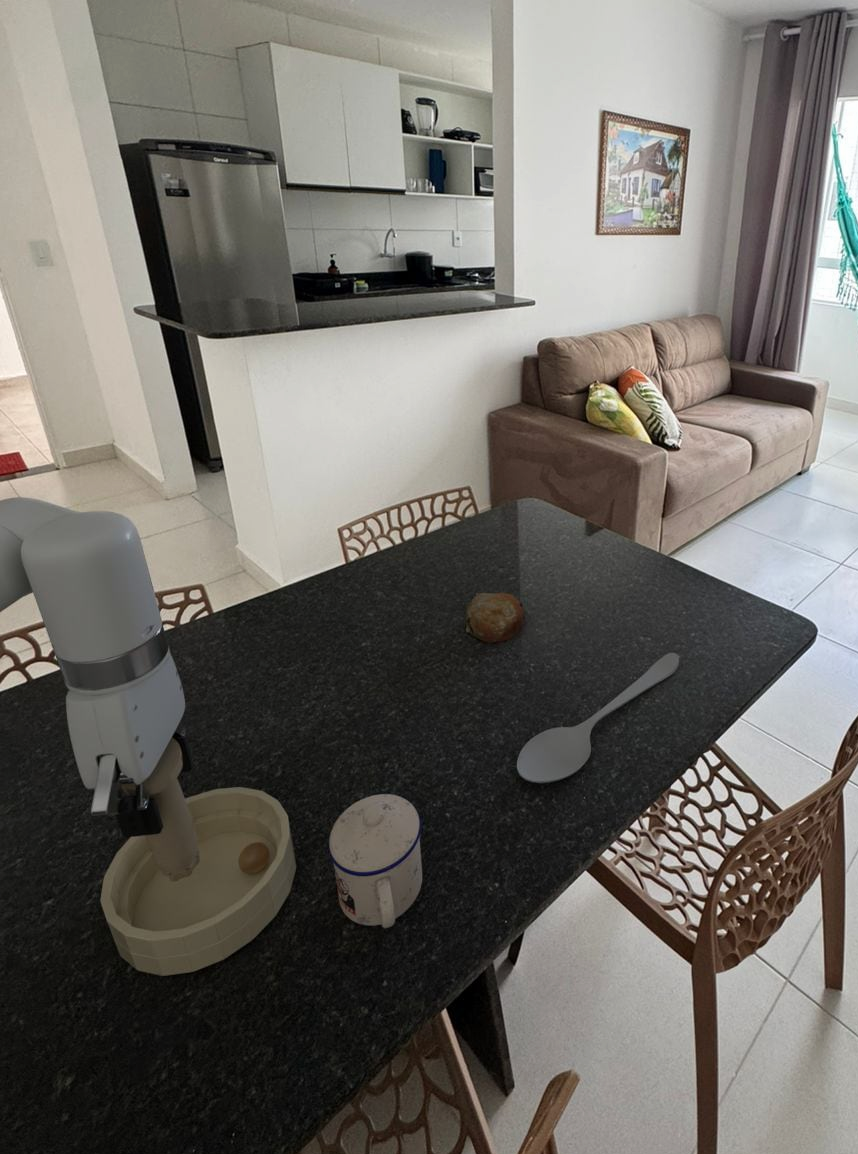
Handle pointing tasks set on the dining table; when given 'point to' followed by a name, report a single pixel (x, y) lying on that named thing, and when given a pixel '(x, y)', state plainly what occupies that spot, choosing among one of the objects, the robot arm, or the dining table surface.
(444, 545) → the dining table surface
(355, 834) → the teacup with lid
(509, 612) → the bread roll
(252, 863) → the egg
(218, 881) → the bowl
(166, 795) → the handle
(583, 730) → the spoon
